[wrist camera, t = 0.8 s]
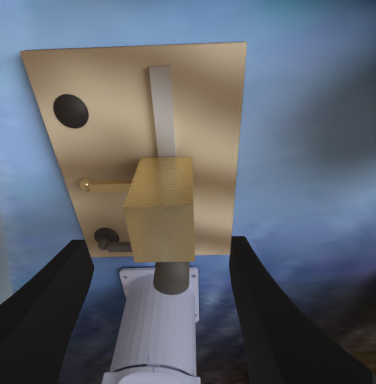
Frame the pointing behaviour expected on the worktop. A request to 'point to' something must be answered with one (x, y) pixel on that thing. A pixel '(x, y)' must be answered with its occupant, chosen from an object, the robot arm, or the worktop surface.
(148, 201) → the block
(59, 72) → the tan base plate
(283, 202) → the worktop surface
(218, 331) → the worktop surface
